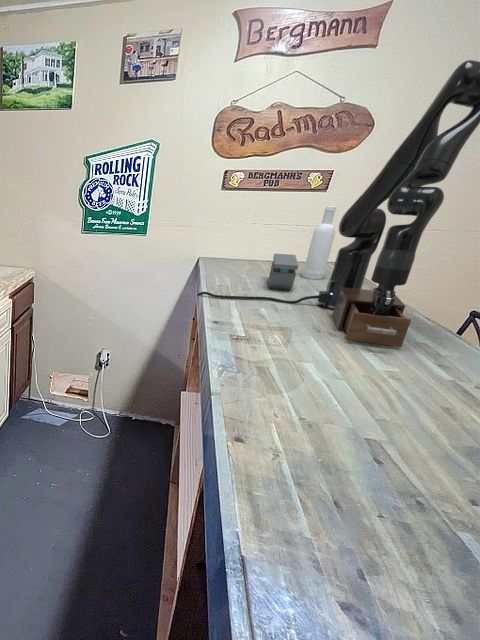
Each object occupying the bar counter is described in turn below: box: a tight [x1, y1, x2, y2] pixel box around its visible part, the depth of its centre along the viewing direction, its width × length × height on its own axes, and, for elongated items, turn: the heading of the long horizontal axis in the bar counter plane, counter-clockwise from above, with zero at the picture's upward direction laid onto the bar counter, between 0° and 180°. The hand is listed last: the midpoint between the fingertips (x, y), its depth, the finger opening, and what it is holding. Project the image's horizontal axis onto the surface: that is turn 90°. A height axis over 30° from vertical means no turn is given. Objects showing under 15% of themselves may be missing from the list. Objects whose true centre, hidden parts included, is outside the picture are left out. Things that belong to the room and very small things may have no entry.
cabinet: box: [332, 287, 406, 332], centre depth 140 cm, size 17×14×10 cm
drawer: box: [343, 303, 412, 348], centre depth 129 cm, size 20×12×8 cm, turn 151°
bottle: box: [301, 205, 337, 280], centre depth 197 cm, size 8×8×30 cm
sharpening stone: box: [267, 253, 299, 291], centre depth 187 cm, size 25×8×11 cm, turn 151°
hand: (373, 326), depth 130 cm, fingers closed
